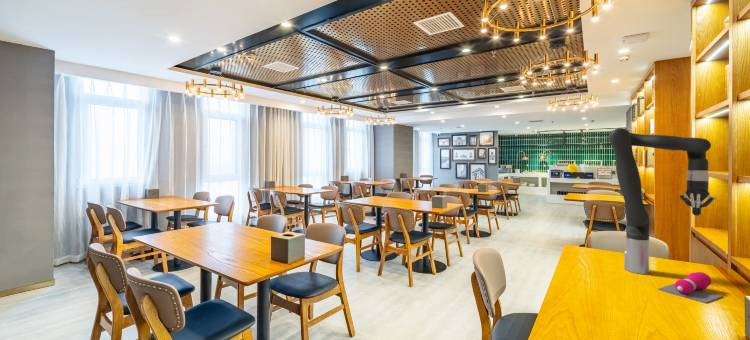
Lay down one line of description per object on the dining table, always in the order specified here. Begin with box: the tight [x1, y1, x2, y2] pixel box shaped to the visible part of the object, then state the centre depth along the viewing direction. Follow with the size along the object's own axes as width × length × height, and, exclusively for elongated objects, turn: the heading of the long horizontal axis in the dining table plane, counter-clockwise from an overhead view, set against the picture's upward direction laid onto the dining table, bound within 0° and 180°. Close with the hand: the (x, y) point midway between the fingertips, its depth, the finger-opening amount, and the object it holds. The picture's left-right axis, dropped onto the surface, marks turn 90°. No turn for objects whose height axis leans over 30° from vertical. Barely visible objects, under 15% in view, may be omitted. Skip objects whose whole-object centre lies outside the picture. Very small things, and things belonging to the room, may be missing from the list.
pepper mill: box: [674, 271, 713, 294], centre depth 142 cm, size 7×7×20 cm
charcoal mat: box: [658, 283, 724, 304], centre depth 141 cm, size 16×14×1 cm
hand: (696, 215), depth 159 cm, fingers closed
